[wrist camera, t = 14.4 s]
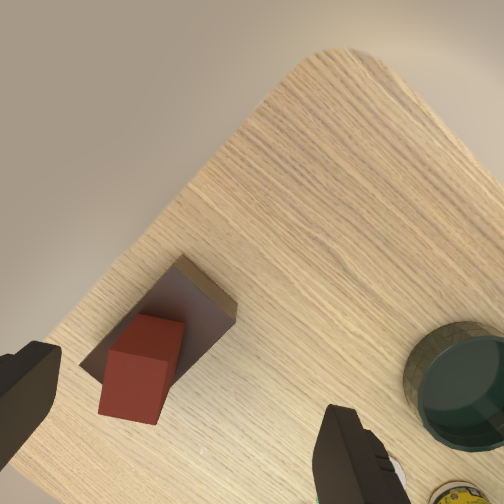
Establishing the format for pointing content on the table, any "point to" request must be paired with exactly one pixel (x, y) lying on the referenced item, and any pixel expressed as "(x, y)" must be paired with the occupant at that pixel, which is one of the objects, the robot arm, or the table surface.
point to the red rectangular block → (141, 369)
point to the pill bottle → (459, 494)
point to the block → (176, 316)
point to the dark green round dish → (459, 385)
